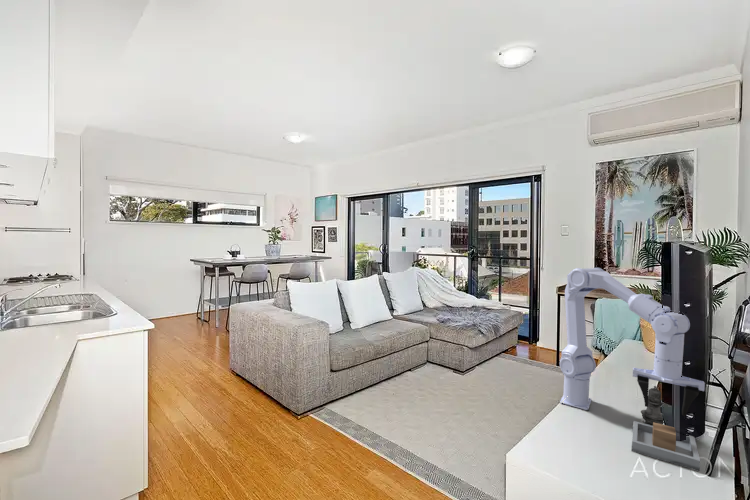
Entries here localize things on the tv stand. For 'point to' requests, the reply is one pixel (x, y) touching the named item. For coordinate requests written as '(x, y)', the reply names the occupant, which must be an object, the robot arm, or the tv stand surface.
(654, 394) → the dark grey turned piece
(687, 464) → the tray
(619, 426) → the tv stand surface
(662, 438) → the block
